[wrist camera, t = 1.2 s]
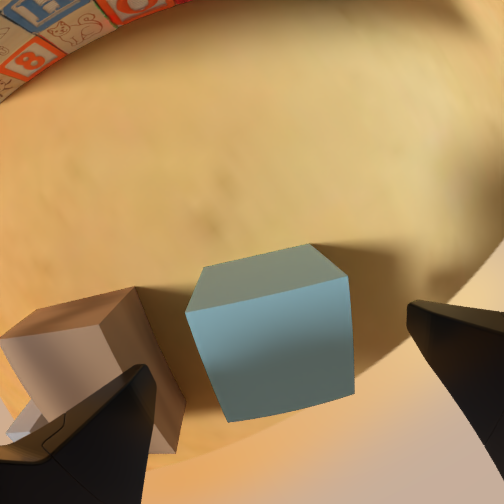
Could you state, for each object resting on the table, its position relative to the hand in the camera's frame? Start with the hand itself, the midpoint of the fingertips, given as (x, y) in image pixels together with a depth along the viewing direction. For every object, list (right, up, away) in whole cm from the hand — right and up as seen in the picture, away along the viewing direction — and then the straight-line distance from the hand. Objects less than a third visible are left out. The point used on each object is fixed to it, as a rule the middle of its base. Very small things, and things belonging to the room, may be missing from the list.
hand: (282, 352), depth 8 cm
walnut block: (-9, -2, +4) cm, 10 cm away
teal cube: (0, +1, +4) cm, 4 cm away
